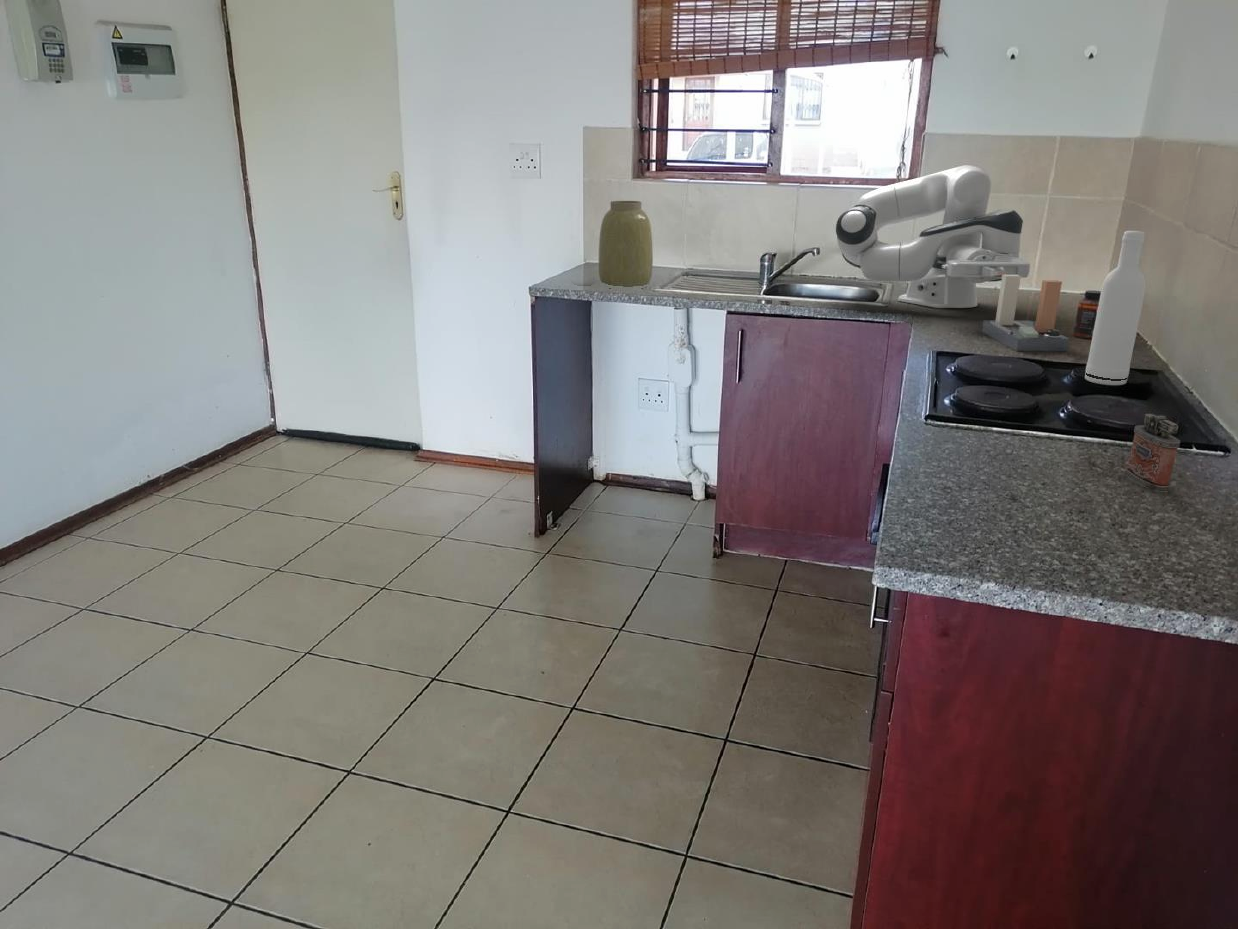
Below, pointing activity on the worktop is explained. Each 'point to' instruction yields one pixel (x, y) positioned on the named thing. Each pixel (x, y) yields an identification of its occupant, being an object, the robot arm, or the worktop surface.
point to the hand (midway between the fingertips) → (998, 273)
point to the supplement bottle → (1087, 314)
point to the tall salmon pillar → (1048, 305)
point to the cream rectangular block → (1007, 299)
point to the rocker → (1028, 332)
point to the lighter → (1153, 453)
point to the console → (1018, 342)
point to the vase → (625, 246)
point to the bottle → (1118, 315)
